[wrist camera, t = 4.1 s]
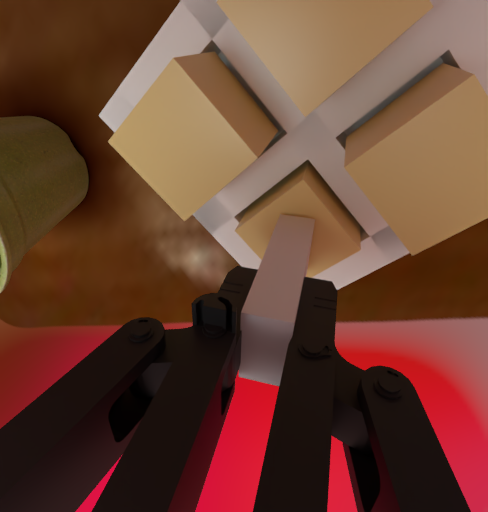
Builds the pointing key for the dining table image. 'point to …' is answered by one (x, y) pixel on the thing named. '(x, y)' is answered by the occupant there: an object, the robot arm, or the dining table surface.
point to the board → (318, 121)
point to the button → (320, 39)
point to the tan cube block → (308, 206)
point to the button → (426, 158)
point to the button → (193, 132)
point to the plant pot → (34, 185)
